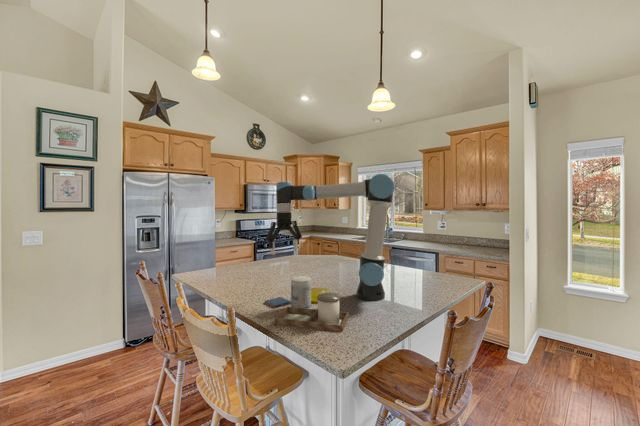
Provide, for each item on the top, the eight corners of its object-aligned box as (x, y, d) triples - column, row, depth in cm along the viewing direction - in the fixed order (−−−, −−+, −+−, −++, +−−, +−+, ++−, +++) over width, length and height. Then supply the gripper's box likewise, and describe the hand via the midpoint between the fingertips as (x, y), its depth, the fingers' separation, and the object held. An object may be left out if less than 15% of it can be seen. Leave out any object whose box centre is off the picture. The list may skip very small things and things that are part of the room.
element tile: (323, 305, 149) (323, 296, 149) (294, 303, 152) (294, 294, 152) (328, 296, 164) (328, 287, 163) (302, 294, 167) (302, 286, 166)
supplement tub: (287, 309, 143) (286, 278, 142) (300, 304, 150) (300, 275, 150) (301, 314, 137) (301, 282, 136) (315, 308, 144) (315, 278, 144)
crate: (348, 319, 131) (348, 312, 131) (342, 333, 117) (342, 325, 117) (287, 313, 138) (287, 306, 138) (274, 325, 124) (274, 318, 124)
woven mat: (280, 299, 159) (280, 296, 158) (292, 305, 151) (292, 301, 150) (262, 304, 152) (262, 300, 152) (274, 309, 144) (274, 305, 144)
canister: (341, 319, 129) (341, 293, 128) (337, 328, 120) (337, 300, 119) (320, 316, 131) (320, 292, 131) (314, 325, 122) (314, 298, 122)
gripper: (300, 211, 165) (300, 249, 166) (258, 212, 150) (259, 254, 151) (308, 211, 159) (308, 251, 160) (265, 212, 144) (266, 256, 145)
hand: (284, 253), depth 155 cm, fingers open, 13 cm apart
